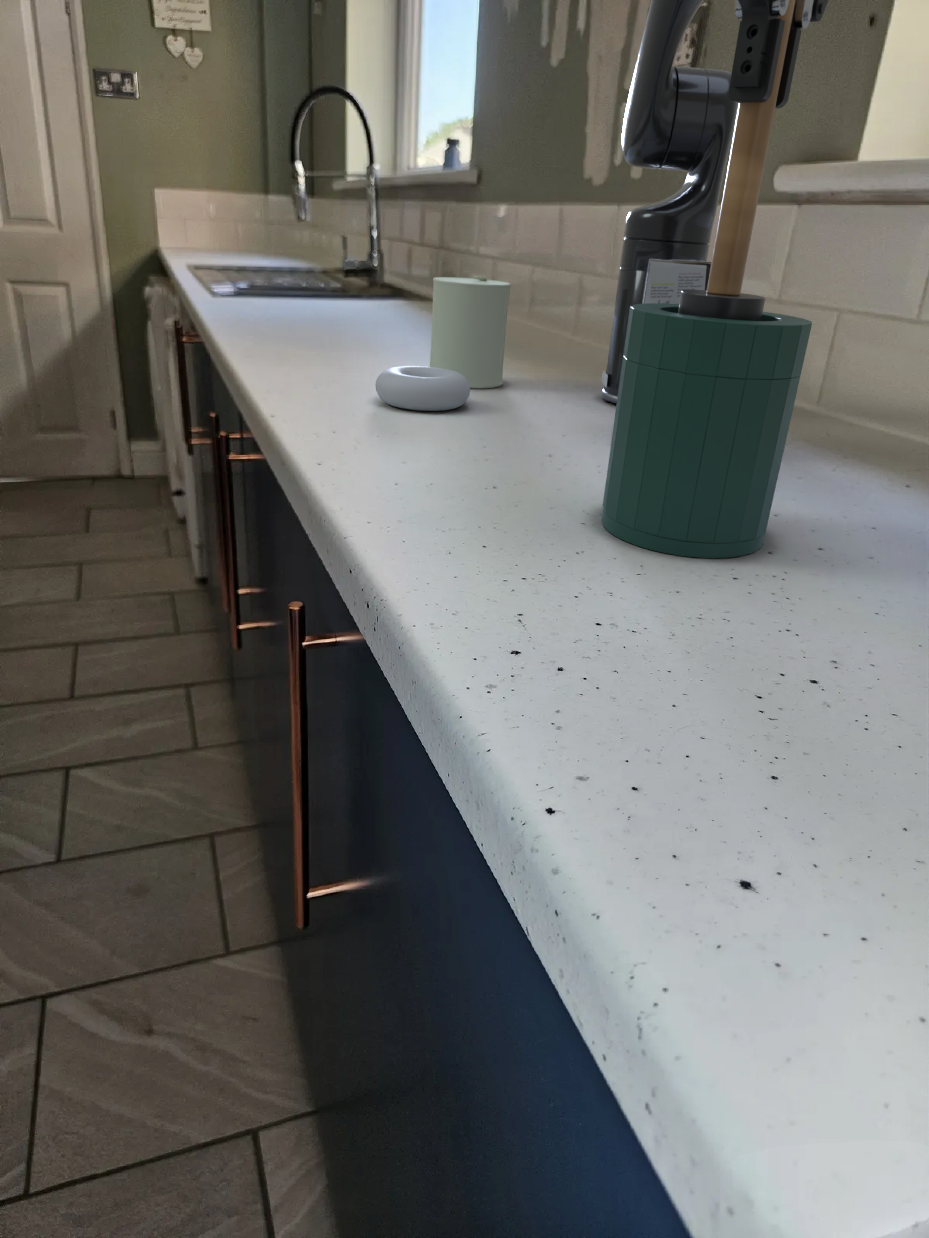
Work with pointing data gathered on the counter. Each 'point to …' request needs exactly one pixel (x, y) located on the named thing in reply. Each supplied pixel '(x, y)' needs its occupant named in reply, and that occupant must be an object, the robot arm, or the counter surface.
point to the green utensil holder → (700, 429)
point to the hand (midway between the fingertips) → (757, 103)
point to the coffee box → (674, 279)
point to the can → (470, 328)
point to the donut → (422, 388)
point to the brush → (739, 209)
